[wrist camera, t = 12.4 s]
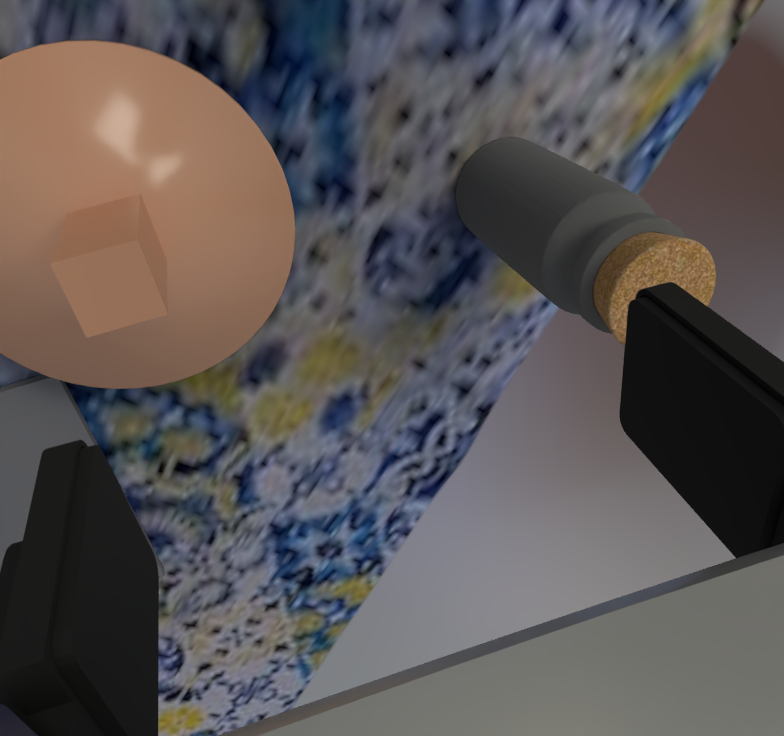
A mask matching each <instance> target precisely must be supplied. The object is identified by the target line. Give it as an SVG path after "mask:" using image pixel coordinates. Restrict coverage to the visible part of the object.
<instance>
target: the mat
mask: <svg viewBox="0 0 784 736" xmlns="http://www.w3.org/2000/svg"><path fill="white" fill-rule="evenodd" d="M77 440H83V441H84V442H85V443H86V444H87V446H88V447H89V446H93V445H98V444H97V442H96V440H95V438H94V436H93V434H92V432H91V430H90V429H89V427H88V425H87V423H86V421H85V419H84V417H83V415H82V414H81V412H80V410H79V408H78V406H77V404H76V402H75V400H74V399H73V397H72V395H71V393H70V391H69V389H68V387H67V385H66V384H65V382H64V381H62V380H58V379H55V378H51V377H48V376H45V375H39V376H36V377H33V378H29V379H26V380H22V381H19V382H16V383H12V384H9V385H5V386H2V387H0V570H1V566H2V562H3V558H4V555H5V553H6V550H7V548H8V547H9V546H10V545H11V544H13V543H17V542H20V541H23V537H24V532H25V528H26V523H27V519H28V514H29V510H30V505H31V500H32V496H33V491H34V487H35V482H36V477H37V473H38V468H39V464H40V459H41V455H42V452H43V450H45V449H47V448H51V447H54V446H58V445H62V444H65V443H69V442H73V441H77ZM98 446H99V445H98ZM121 489H122V488H121ZM122 491H123V490H122ZM123 493H124V492H123ZM124 495H125V494H124ZM125 497H126V496H125ZM126 499H127V498H126ZM127 501H128V500H127ZM128 503H129V502H128ZM129 505H130V503H129ZM130 507H131V505H130ZM131 509H132V507H131ZM132 511H133V509H132ZM133 513H134V511H133ZM134 515H135V513H134ZM135 517H136V515H135ZM136 519H137V521H138V523H139V525H140V527H141V529H142V531H143V533H144V535H145V537H146V539H147V541H148V543H149V545H150V547H151V549H152V551H153V553H154V555H155V558H156V561H157V566H158V574H159V577H160V576H163V575H164V567H163V565H162V563H161V562H160V560H159V558H158V556H157V554H156V552H155V550H154V548H153V547H152V545H151V543H150V541H149V539H148V537H147V535H146V533H145V532H144V530H143V528H142V526H141V524H140V522H139V520H138V518H137V517H136Z"/></svg>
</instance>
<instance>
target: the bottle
mask: <svg viewBox="0 0 784 736" xmlns="http://www.w3.org/2000/svg"><path fill="white" fill-rule="evenodd" d="M455 199H456V205H457V210H458V213H459V215H460V218H461V220H462V222H463V223H464V224H465V225H466V227H467V228H468V229H469V230H470V231H471V232H472V233H473V234H474V235H475V236H476V237H477V238H478V239H480V240H481V241H482V242H483V243H484V244H485V245H486V246H487V247H489V248H490V249H491V250H492V251H493V252H494V253H495V254H497V255H498V256H499V257H500V258H501V259H502V260H503V261H505V262H506V263H507V264H508V265H509V266H510V267H511V268H513V269H514V270H515V271H516V272H517V273H518V274H520V275H521V276H522V277H523V278H524V279H525V280H526V281H528V282H529V283H530V284H531V285H532V286H533V287H535V288H536V289H537V290H538V291H539V292H540V293H541V294H543V295H544V296H545V297H546V298H547V299H549V300H550V301H551V302H552V303H554V304H555V305H556V306H558V307H559V308H561V309H563V310H565V311H567V312H570V313H573V314H579V315H581V316H582V317H583V318H584V319H585V320H586V321H587V322H589V323H590V324H591V325H592V326H594V327H595V328H597V329H599V330H601V331H603V332H607V333H611V334H613V335H614V337H615V338H616V339H617V340H618V341H619V342H620V343H621V344H623V345H625V340H626V327H627V315H628V306H629V303H630V301H632V300H634V299H635V297H636V294H637V292H638V291H639V290H641V289H644V288H648V287H652V286H655V285H659V284H663V283H667V282H673V283H675V284H677V285H678V286H680V287H681V288H682V289H684V290H685V291H687V292H688V293H689V294H691V295H692V296H693V297H695V298H696V299H698V300H699V301H700V302H702V303H703V304H704V305H706V306H708V304H709V302H710V300H711V297H712V294H713V291H714V287H715V278H716V271H715V265H714V261H713V259H712V257H711V255H710V253H709V252H708V250H707V249H706V248H705V247H704V246H703V245H701V244H700V243H698V242H696V241H694V240H690V239H687V238H685V236H684V234H683V233H682V232H681V231H680V229H679V228H678V227H677V226H675V225H674V224H673V223H671V222H669V221H667V220H666V219H664V218H662V217H659V216H657V215H655V214H654V212H653V210H652V208H651V207H650V206H649V205H648V204H647V203H646V201H644V200H643V199H642V198H641V197H639V196H638V195H636V194H634V193H632V192H631V191H629V190H627V189H625V188H623V187H622V186H620V185H618V184H616V183H614V182H612V181H610V180H608V179H605V178H603V177H601V176H599V175H597V174H595V173H593V172H591V171H589V170H587V169H585V168H583V167H581V166H579V165H577V164H575V163H573V162H571V161H569V160H567V159H565V158H563V157H561V156H559V155H557V154H555V153H553V152H551V151H549V150H547V149H545V148H543V147H541V146H539V145H536V144H534V143H532V142H530V141H527V140H524V139H520V138H516V137H509V138H501V139H497V140H494V141H492V142H490V143H488V144H486V145H484V146H482V147H481V148H480V149H478V150H477V151H476V152H475V153H474V154H473V155H472V156H471V157H470V159H469V160H468V161H467V163H466V164H465V166H464V168H463V169H462V171H461V173H460V176H459V179H458V182H457V186H456V198H455Z"/></svg>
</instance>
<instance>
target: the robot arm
mask: <svg viewBox="0 0 784 736" xmlns="http://www.w3.org/2000/svg"><path fill="white" fill-rule="evenodd" d="M620 422H621V425H622V427H623V429H624V431H625V432H626V434H627V435H628V437H629V438H630V439H631V440H632V441H633V442H634V443H635V444H636V446H637V447H638V448H639V449H640V450H641V451H642V452H643V453H644V454H645V456H646V457H647V458H648V459H649V460H650V461H651V462H652V464H653V465H654V466H655V467H656V468H657V469H658V470H659V472H660V473H661V474H662V475H663V476H664V477H665V478H666V479H667V480H668V482H669V483H670V484H671V485H672V486H673V487H674V488H675V490H676V491H677V492H678V493H679V494H680V495H681V496H682V497H683V499H684V500H685V501H686V502H687V503H688V504H689V505H690V506H691V508H692V509H694V511H695V512H696V513H697V514H698V515H699V517H700V518H701V519H702V520H703V521H704V522H705V523H706V525H707V526H708V527H709V528H710V529H711V530H712V531H713V532H714V534H715V535H716V536H717V537H718V538H719V539H720V540H721V541H722V543H723V544H724V545H725V546H726V547H727V548H728V549H729V550H730V552H731V553H732V554H733V555H734V556H735V557H736V559H733V560H730V561H727V562H724V563H721V564H718V565H715V566H712V567H709V568H706V569H703V570H700V571H697V572H694V573H691V574H688V575H685V576H682V577H679V578H676V579H673V580H670V581H667V582H664V583H661V584H658V585H655V586H652V587H649V588H646V589H643V590H640V591H637V592H634V593H631V594H628V595H625V596H622V597H619V598H616V599H613V600H610V601H607V602H604V603H601V604H598V605H595V606H592V607H589V608H586V609H583V610H580V611H577V612H574V613H571V614H568V615H566V616H562V617H559V618H557V619H554V620H551V621H548V622H545V623H542V624H539V625H536V626H533V627H530V628H527V629H524V630H521V631H518V632H515V633H512V634H509V635H507V636H503V637H500V638H498V639H495V640H492V641H489V642H486V643H483V644H480V645H477V646H474V647H471V648H468V649H465V650H462V651H459V652H456V653H453V654H451V655H448V656H445V657H442V658H439V659H436V660H433V661H430V662H427V663H424V664H422V665H418V666H416V667H413V668H410V669H407V670H404V671H401V672H398V673H395V674H392V675H389V676H387V677H384V678H381V679H378V680H375V681H372V682H369V683H366V684H363V685H361V686H358V687H355V688H352V689H349V690H346V691H343V692H340V693H337V694H334V695H332V696H328V697H326V698H323V699H320V700H317V701H314V702H311V703H308V704H305V705H302V706H299V707H297V708H294V709H291V710H288V711H285V712H283V713H280V714H277V715H274V716H272V717H269V718H266V719H263V720H261V721H258V722H255V723H252V724H249V725H247V726H244V727H241V728H238V729H236V730H233V731H230V732H227V733H225V734H222V735H219V736H784V362H783V361H781V360H780V359H778V358H777V357H776V356H774V355H773V354H772V353H770V352H769V351H768V350H766V349H765V348H763V347H762V346H761V345H759V344H758V343H757V342H755V341H754V340H752V339H751V338H750V337H748V336H747V335H746V334H744V333H743V332H741V331H740V330H739V329H737V328H736V327H735V326H733V325H732V324H731V323H729V322H727V321H726V320H725V319H723V318H722V317H721V316H720V315H718V314H717V313H715V312H714V311H712V310H711V309H710V308H708V307H707V306H706V305H704V304H703V303H702V302H700V301H699V300H698V299H696V298H695V297H693V296H692V295H691V294H689V293H688V292H687V291H685V290H684V289H682V288H681V287H680V286H678V285H677V284H675V283H673V282H667V283H663V284H659V285H655V286H652V287H648V288H644V289H641V290H639V291H638V292H637V294H636V297H635V299H634V300H632V301H630V303H629V306H628V315H627V327H626V340H625V352H624V365H623V378H622V390H621V404H620ZM158 603H159V574H158V566H157V561H156V558H155V555H154V553H153V551H152V549H151V547H150V545H149V543H148V541H147V539H146V537H145V535H144V533H143V531H142V529H141V527H140V525H139V523H138V521H137V519H136V517H135V515H134V513H133V511H132V509H131V507H130V505H129V503H128V501H127V499H126V497H125V495H124V493H123V491H122V489H121V487H120V485H119V483H118V481H117V479H116V477H115V475H114V473H113V471H112V469H111V467H110V465H109V463H108V461H107V459H106V457H105V455H104V453H103V451H102V449H101V448H100V447H99V446H98V445H93V446H89V447H88V446H87V444H86V443H85V442H84V441H83V440H77V441H73V442H69V443H65V444H62V445H58V446H54V447H51V448H47V449H45V450H43V452H42V455H41V459H40V464H39V468H38V473H37V477H36V482H35V487H34V491H33V496H32V500H31V505H30V510H29V514H28V519H27V523H26V528H25V532H24V537H23V541H20V542H17V543H13V544H11V545H10V546H9V547H8V548H7V550H6V553H5V555H4V558H3V562H2V566H1V570H0V736H158Z"/></svg>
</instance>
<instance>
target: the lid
mask: <svg viewBox="0 0 784 736" xmlns="http://www.w3.org/2000/svg"><path fill="white" fill-rule="evenodd" d="M294 244H295V220H294V209H293V204H292V199H291V194H290V190H289V187H288V184H287V181H286V178H285V175H284V172H283V169H282V167H281V165H280V163H279V161H278V159H277V157H276V155H275V153H274V151H273V149H272V147H271V145H270V144H269V142H268V141H267V139H266V138H265V136H264V135H263V133H262V132H261V130H260V129H259V127H258V126H257V124H256V123H255V121H254V120H253V119H252V118H251V117H250V116H249V114H248V113H247V112H246V111H245V110H244V109H243V107H242V106H241V105H240V104H239V103H238V102H237V101H236V100H234V99H233V98H232V97H231V96H230V95H229V94H228V93H227V92H226V91H225V90H223V89H222V88H221V87H220V86H219V85H217V84H216V83H214V82H213V81H211V80H210V79H209V78H207V77H206V76H204V75H203V74H202V73H200V72H199V71H197V70H195V69H193V68H191V67H189V66H187V65H186V64H184V63H182V62H180V61H178V60H176V59H174V58H171V57H169V56H166V55H164V54H161V53H158V52H156V51H153V50H151V49H147V48H143V47H139V46H135V45H131V44H127V43H122V42H114V41H105V40H96V39H92V40H64V41H58V42H51V43H45V44H40V45H36V46H33V47H30V48H27V49H23V50H20V51H17V52H14V53H12V54H10V55H8V56H6V57H4V58H2V59H0V353H1V354H2V355H4V356H5V357H7V358H9V359H11V360H13V361H15V362H17V363H18V364H20V365H22V366H24V367H26V368H28V369H31V370H33V371H36V372H38V373H41V374H43V375H45V376H48V377H51V378H55V379H58V380H62V381H65V382H69V383H73V384H78V385H84V386H89V387H98V388H111V389H129V388H143V387H151V386H158V385H163V384H167V383H171V382H175V381H179V380H182V379H185V378H187V377H190V376H193V375H195V374H198V373H200V372H202V371H204V370H206V369H208V368H210V367H212V366H214V365H216V364H218V363H220V362H221V361H223V360H224V359H226V358H227V357H229V356H230V355H232V354H233V353H235V352H236V351H237V350H238V349H239V348H241V347H242V346H243V345H244V344H245V343H246V342H248V341H249V340H250V339H251V338H252V337H253V335H254V334H255V333H256V332H257V331H258V330H259V329H260V328H261V327H262V326H263V324H264V323H265V321H266V320H267V318H268V317H269V316H270V314H271V313H272V311H273V310H274V308H275V306H276V304H277V302H278V300H279V298H280V297H281V295H282V293H283V290H284V287H285V285H286V282H287V279H288V276H289V274H290V269H291V264H292V260H293V255H294Z"/></svg>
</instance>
